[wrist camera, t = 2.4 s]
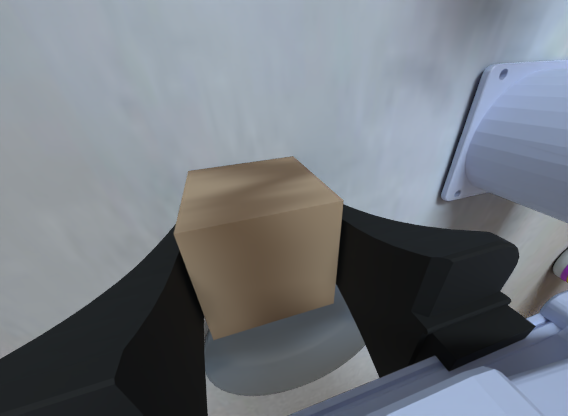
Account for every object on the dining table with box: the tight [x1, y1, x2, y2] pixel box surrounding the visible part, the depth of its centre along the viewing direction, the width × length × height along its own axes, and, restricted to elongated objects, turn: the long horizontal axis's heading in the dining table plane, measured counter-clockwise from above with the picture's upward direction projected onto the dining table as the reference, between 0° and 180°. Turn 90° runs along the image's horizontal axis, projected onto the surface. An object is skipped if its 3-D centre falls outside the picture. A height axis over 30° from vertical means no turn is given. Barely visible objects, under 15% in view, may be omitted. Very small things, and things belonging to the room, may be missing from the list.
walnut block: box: [174, 156, 344, 340], centre depth 10 cm, size 5×5×5 cm
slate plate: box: [204, 284, 365, 396], centre depth 18 cm, size 15×15×1 cm
